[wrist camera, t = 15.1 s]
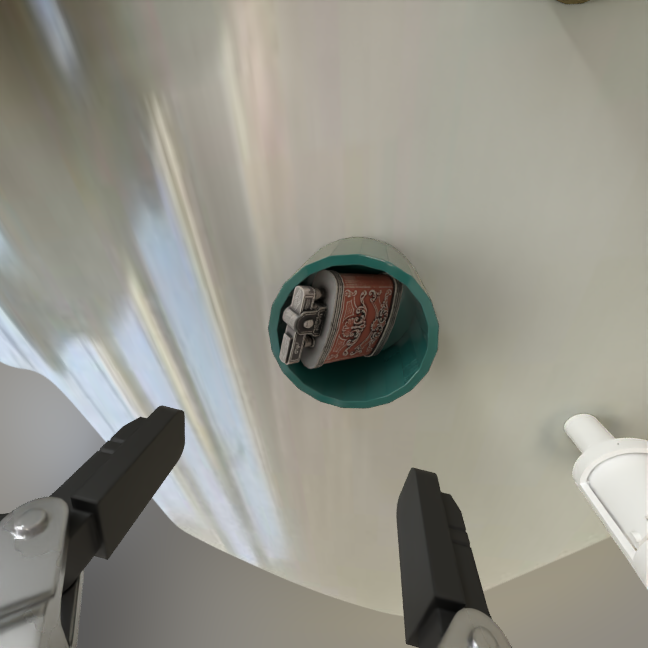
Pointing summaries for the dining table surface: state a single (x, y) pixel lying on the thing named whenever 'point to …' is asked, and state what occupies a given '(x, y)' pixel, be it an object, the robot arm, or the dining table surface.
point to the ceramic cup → (397, 353)
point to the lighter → (340, 317)
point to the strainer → (614, 485)
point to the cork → (572, 1)
